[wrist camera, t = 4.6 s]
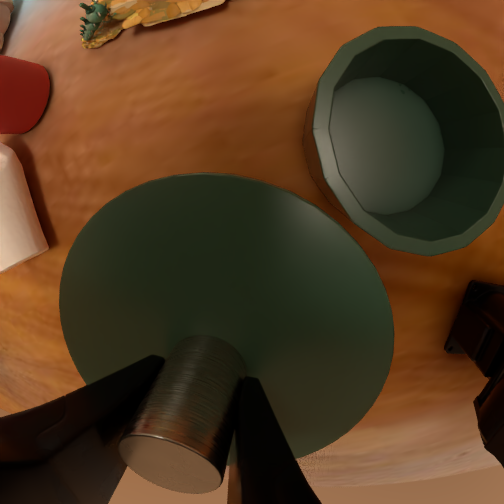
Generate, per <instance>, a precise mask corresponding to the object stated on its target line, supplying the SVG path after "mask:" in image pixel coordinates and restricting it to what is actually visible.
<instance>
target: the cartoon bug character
mask: <svg viewBox="0 0 504 504" xmlns="http://www.w3.org/2000/svg"><path fill="white" fill-rule="evenodd" d="M224 1H225V0H92V2H91V4H93V5H91V6H87V5H86V4H84V3H80V5H79V6H80V7H82V8H84V9H85V10H86V18H87V19H85V18H83V17H81V18H80V19H81V20H82V21H84V22H85V26H84V25H80V26H81V27H82V28H84V30H80V31H81V32H83V34H82V33H81V34H80V35H82V36H83V38H82V39H81V41H83V44H82V46H83V48H96V47H97V48H98V47H100V46H101V45H103V43H104V42H106V41H107V40H109V39H113V38H114V37H116V36H117V35H116V34H118V33H119V32H120V31H121V30H122V29H123V28H124V29H127V28H129V27H131V26H133V25H136V24H140V23H142V25H144V26H145V27H147V26H152V25H154V24H157V23H160V22H164V21H167V20H172V19H176V18H179V17H183V16H187V14H191V13H194V12H198V11H201V10H204V9H208V8H211V7H214V6H217V5H219V4H222V3H223V2H224ZM108 10H111V11H109V12H108ZM107 13H109V15H107Z"/></svg>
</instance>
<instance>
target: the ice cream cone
mask: <svg viewBox="0 0 504 504" xmlns="http://www.w3.org/2000/svg"><path fill="white" fill-rule="evenodd" d="M13 10H14V5H13V1H12V0H0V51H1V49H2V46H3V40H4V38H3V35H4V33H5V32H6V30H7V28H8V26H9V23H10V14H11V13H12V12H13Z"/></svg>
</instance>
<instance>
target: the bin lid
mask: <svg viewBox="0 0 504 504" xmlns="http://www.w3.org/2000/svg"><path fill="white" fill-rule="evenodd" d="M59 309H60V319H61V325H62V330H63V334H64V338H65V341H66V344H67V347H68V350H69V353H70V355H71V357H72V360H73V362H74V364H75V366H76V368H77V370H78V372H79V373H80V375H81V377H82V378H83V380H84V381H85V383H86V385H89V384H91V383H93V382H95V381H97V380H99V379H101V378H104V377H106V376H108V375H110V374H112V373H114V372H116V371H118V370H120V369H122V368H124V367H127V366H129V365H131V364H133V363H135V362H137V361H139V360H141V359H143V358H145V357H147V356H149V355H151V354H154V355H158V356H162V357H164V358H165V363H164V364H163V366H162V368H161V369H160V371H159V373H158V374H157V376H156V378H155V380H154V381H153V383H152V385H151V386H150V388H149V390H148V391H147V393H146V395H145V396H144V398H143V400H142V402H141V403H140V405H139V407H138V408H137V410H136V412H135V414H134V415H133V417H132V419H131V420H130V422H129V424H128V426H127V427H126V429H125V431H124V433H123V434H122V436H121V438H120V439H119V442H118V452H119V454H120V456H121V458H122V459H123V461H124V462H125V463H126V464H127V465H128V466H129V467H130V468H131V469H132V470H133V471H134V472H135V473H137V474H138V475H140V476H141V477H143V478H144V479H146V480H148V481H150V482H152V483H154V484H156V485H158V486H161V487H163V488H166V489H169V490H173V491H177V492H182V493H191V494H201V493H208V492H211V491H214V490H216V489H217V488H218V487H220V485H221V484H222V482H223V478H224V474H225V469H226V465H227V466H230V450H231V443H232V438H233V433H234V429H235V423H236V415H237V409H238V404H239V399H240V394H241V390H242V385H243V381H244V377H245V376H250V377H256V378H258V379H259V380H260V382H261V385H262V387H263V389H264V391H265V394H266V396H267V398H268V400H269V403H270V405H271V407H272V409H273V412H274V414H275V416H276V418H277V420H278V422H279V425H280V427H281V429H282V431H283V433H284V435H285V438H286V440H287V442H288V444H289V446H290V448H291V450H292V452H293V455H294V457H295V459H297V458H301V457H304V456H306V455H309V454H311V453H313V452H316V451H318V450H320V449H322V448H324V447H326V446H327V445H329V444H331V443H333V442H334V441H336V440H337V439H339V438H340V437H342V436H343V435H344V434H346V433H347V432H348V431H349V430H351V429H352V428H353V427H354V426H355V425H356V424H357V423H358V422H359V421H360V420H361V419H362V418H363V417H364V416H365V414H366V413H367V412H368V411H369V409H370V408H371V407H372V406H373V404H374V402H375V401H376V399H377V397H378V396H379V394H380V392H381V391H382V388H383V386H384V383H385V381H386V379H387V376H388V374H389V370H390V366H391V361H392V357H393V349H394V324H393V315H392V310H391V306H390V302H389V299H388V295H387V292H386V289H385V287H384V285H383V283H382V280H381V278H380V276H379V274H378V272H377V270H376V268H375V266H374V265H373V263H372V262H371V260H370V259H369V258H368V256H367V255H366V253H365V252H364V250H363V249H362V248H361V246H360V245H359V244H358V243H357V241H356V240H355V239H354V238H353V237H352V236H351V235H350V234H349V233H348V232H347V231H346V230H345V229H344V228H343V227H342V226H341V225H340V224H339V223H338V222H337V221H336V220H335V219H333V218H332V217H331V216H329V215H328V214H327V213H325V212H324V211H323V210H322V209H320V208H319V207H318V206H316V205H315V204H313V203H311V202H309V201H308V200H306V199H304V198H302V197H300V196H299V195H297V194H295V193H293V192H291V191H289V190H287V189H284V188H281V187H279V186H276V185H274V184H271V183H268V182H266V181H263V180H259V179H254V178H250V177H245V176H241V175H236V174H226V173H211V172H201V173H189V174H178V175H172V176H168V177H163V178H159V179H155V180H151V181H148V182H146V183H143V184H141V185H138V186H136V187H134V188H132V189H129V190H127V191H125V192H124V193H122V194H120V195H119V196H117V197H116V198H114V199H113V200H111V201H110V202H108V203H107V204H105V205H104V206H103V207H102V208H101V209H100V210H99V211H98V212H97V213H96V214H95V215H93V216H92V217H91V218H90V220H89V221H88V222H87V224H86V225H85V226H84V227H83V229H82V230H81V231H80V233H79V234H78V236H77V238H76V239H75V241H74V243H73V245H72V247H71V249H70V251H69V253H68V256H67V259H66V262H65V265H64V268H63V272H62V277H61V283H60V294H59Z"/></svg>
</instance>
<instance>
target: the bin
mask: <svg viewBox="0 0 504 504" xmlns="http://www.w3.org/2000/svg"><path fill="white" fill-rule="evenodd" d="M302 142H303V147H304V152H305V157H306V161H307V164H308V168H309V172H310V175H311V177H312V178H313V180H314V181H315V182H316V184H317V186H318V187H319V189H320V190H321V191H322V192H323V194H324V195H325V197H326V198H327V200H328V201H329V202H330V203H331V204H332V205H333V206H334V207H335V208H337V209H338V210H339V211H340V212H341V213H342V214H344V215H345V216H346V217H347V218H348V219H349V220H350V221H351V222H353V223H354V224H355V225H357V226H358V227H360V228H361V229H362V230H364V231H365V232H367V233H368V234H370V235H371V236H372V237H374V238H375V239H377V240H378V241H379V242H381V243H382V244H384V245H385V246H386V247H388V248H390V249H393V250H398V251H403V252H408V253H413V254H418V255H423V256H434V255H438V254H442V253H446V252H450V251H453V250H457V249H461V248H464V247H465V246H467V245H469V244H470V243H471V242H472V241H473V240H475V239H476V238H477V237H478V236H479V235H480V234H482V233H483V232H484V231H485V230H486V229H487V228H489V227H490V226H491V225H492V224H493V223H494V222H495V220H496V218H497V216H498V214H499V212H500V210H501V208H502V206H503V204H504V102H503V100H502V98H501V97H500V95H499V93H498V91H497V89H496V88H495V86H494V84H493V82H492V81H491V79H490V77H489V75H488V74H487V72H486V71H485V70H484V69H483V68H482V67H481V66H480V65H479V64H478V63H477V62H476V61H475V60H474V59H473V58H472V57H471V56H470V55H468V54H467V53H466V52H465V51H464V50H463V49H462V48H461V47H460V46H458V45H457V44H456V43H454V42H453V41H450V40H448V39H446V38H444V37H441V36H439V35H437V34H434V33H432V32H429V31H427V30H424V29H422V28H419V27H415V26H389V27H377V28H374V29H372V30H370V31H368V32H366V33H364V34H362V35H360V36H359V37H357V38H355V39H353V40H351V41H349V42H347V43H346V44H344V45H343V46H341V47H340V49H339V50H338V52H337V53H336V55H335V56H334V58H333V59H332V61H331V62H330V64H329V65H328V67H327V68H326V70H325V71H324V73H323V74H322V76H321V77H320V79H319V81H318V83H317V86H316V89H315V91H314V94H313V97H312V99H311V102H310V105H309V107H308V110H307V114H306V121H305V126H304V134H303V141H302Z"/></svg>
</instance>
